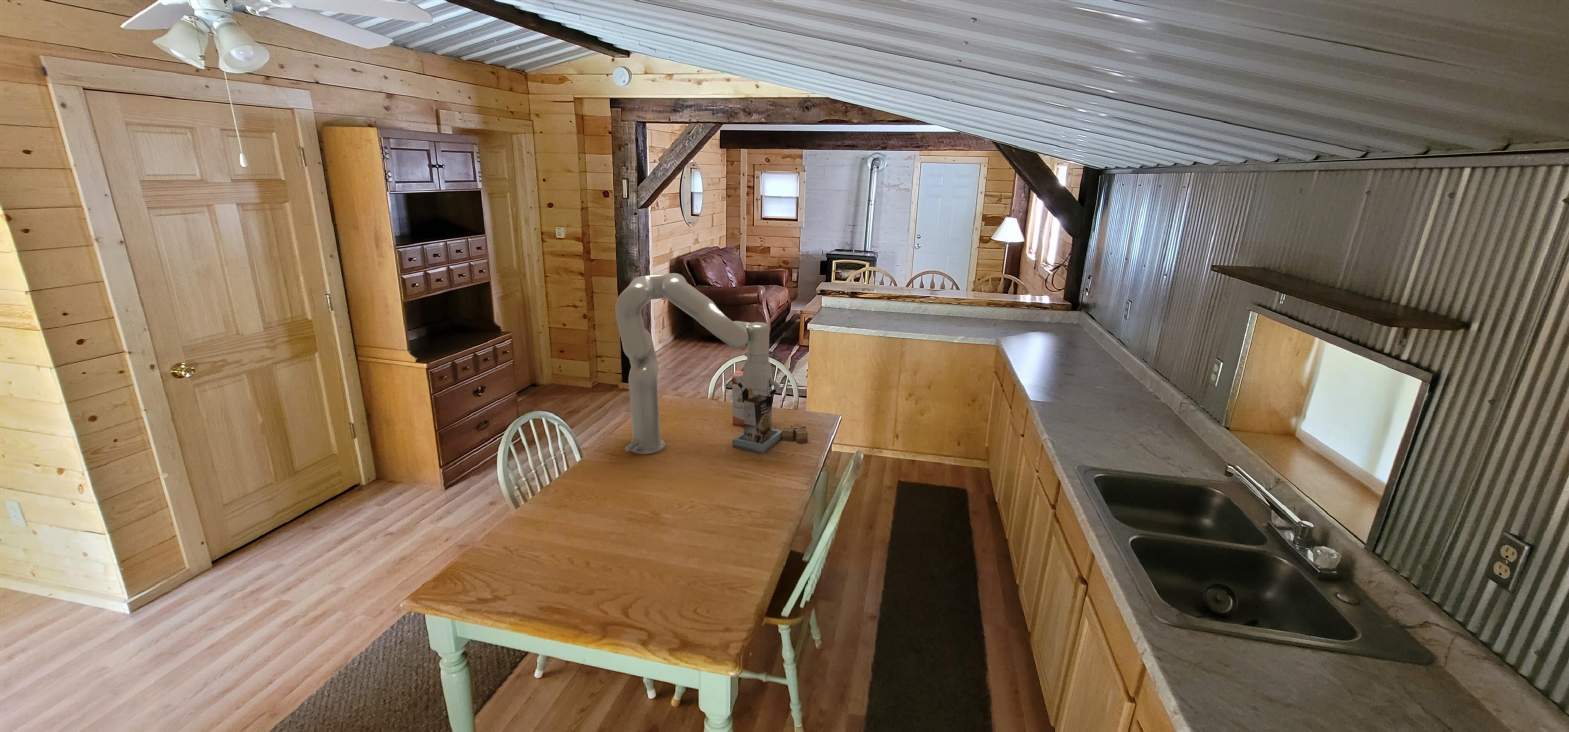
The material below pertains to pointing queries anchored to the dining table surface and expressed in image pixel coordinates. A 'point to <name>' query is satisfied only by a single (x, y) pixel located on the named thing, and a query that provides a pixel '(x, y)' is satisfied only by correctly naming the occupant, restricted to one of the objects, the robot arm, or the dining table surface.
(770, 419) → the coffee box
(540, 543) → the dining table surface
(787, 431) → the walnut block
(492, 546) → the dining table surface
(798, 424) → the walnut block
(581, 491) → the dining table surface
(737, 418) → the cracker box
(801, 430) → the walnut block
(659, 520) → the dining table surface
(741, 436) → the tray
